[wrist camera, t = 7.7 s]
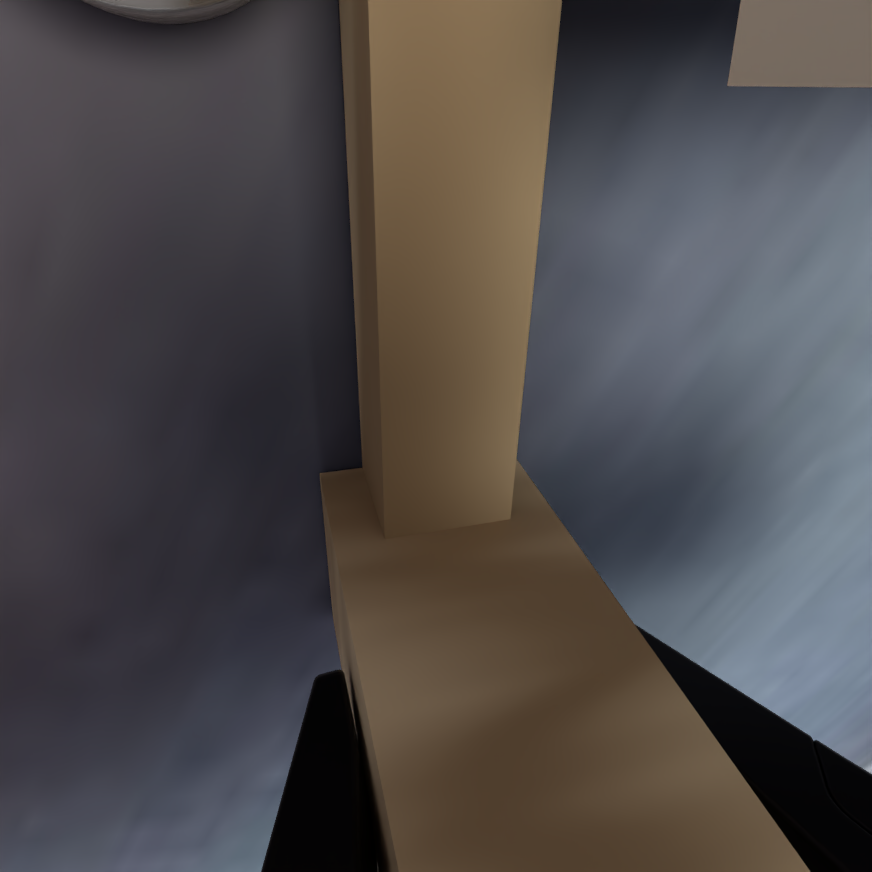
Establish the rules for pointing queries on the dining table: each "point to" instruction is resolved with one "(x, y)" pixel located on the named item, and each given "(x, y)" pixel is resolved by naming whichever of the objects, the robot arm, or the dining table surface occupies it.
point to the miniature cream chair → (803, 44)
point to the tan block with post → (487, 501)
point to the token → (168, 9)
